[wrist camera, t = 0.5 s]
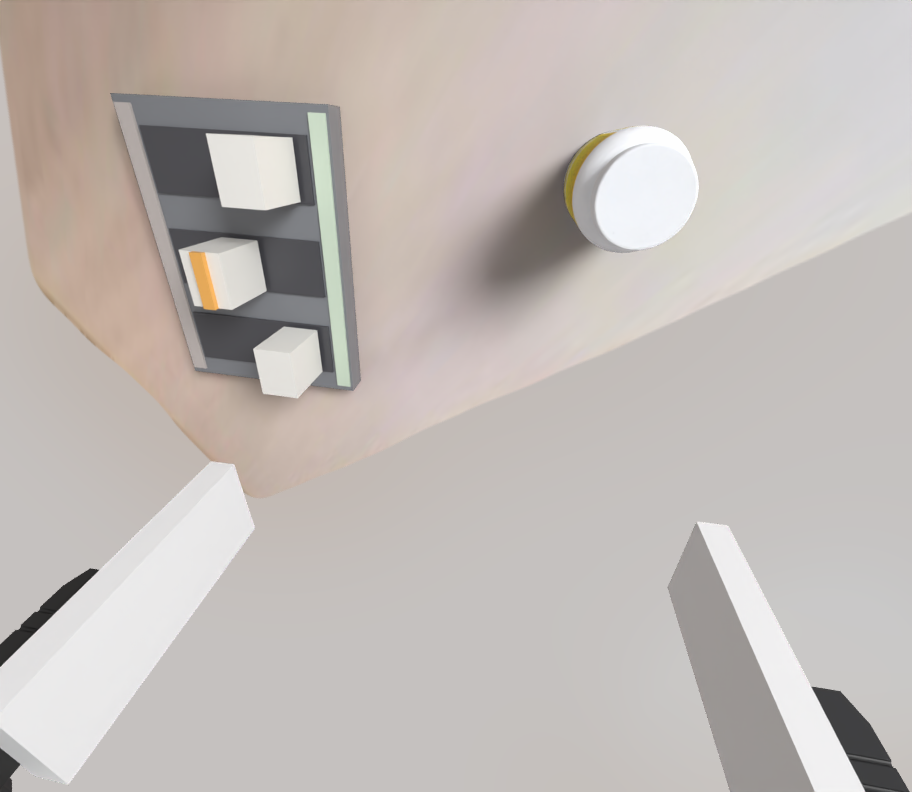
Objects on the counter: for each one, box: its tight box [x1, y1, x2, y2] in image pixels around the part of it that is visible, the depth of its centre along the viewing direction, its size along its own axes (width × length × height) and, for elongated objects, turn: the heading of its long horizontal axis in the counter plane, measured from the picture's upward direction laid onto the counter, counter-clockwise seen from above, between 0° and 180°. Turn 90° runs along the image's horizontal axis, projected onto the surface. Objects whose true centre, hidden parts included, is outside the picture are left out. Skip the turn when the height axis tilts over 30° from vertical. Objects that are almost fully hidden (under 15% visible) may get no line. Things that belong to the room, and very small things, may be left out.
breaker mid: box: [179, 237, 267, 310], centre depth 32 cm, size 4×3×5 cm
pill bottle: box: [563, 126, 698, 253], centre depth 25 cm, size 6×6×11 cm
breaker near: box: [206, 133, 301, 210], centre depth 28 cm, size 4×3×5 cm
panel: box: [110, 93, 361, 391], centre depth 35 cm, size 22×16×2 cm
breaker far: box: [253, 327, 323, 398], centre depth 35 cm, size 4×3×5 cm
